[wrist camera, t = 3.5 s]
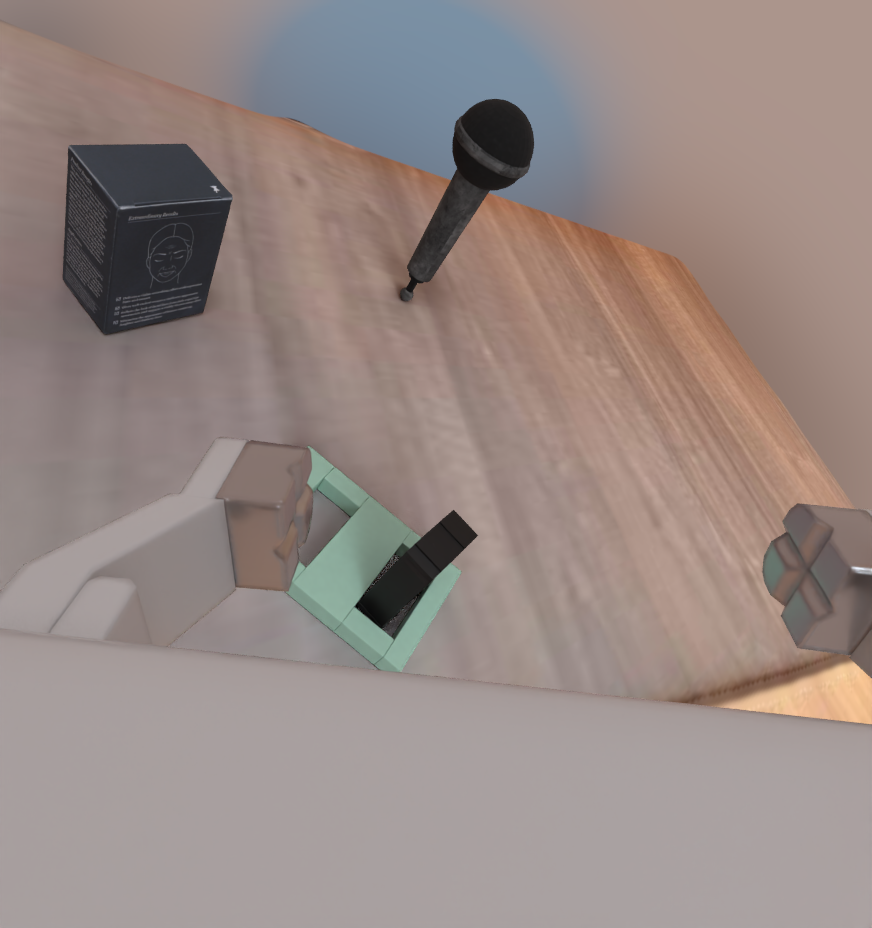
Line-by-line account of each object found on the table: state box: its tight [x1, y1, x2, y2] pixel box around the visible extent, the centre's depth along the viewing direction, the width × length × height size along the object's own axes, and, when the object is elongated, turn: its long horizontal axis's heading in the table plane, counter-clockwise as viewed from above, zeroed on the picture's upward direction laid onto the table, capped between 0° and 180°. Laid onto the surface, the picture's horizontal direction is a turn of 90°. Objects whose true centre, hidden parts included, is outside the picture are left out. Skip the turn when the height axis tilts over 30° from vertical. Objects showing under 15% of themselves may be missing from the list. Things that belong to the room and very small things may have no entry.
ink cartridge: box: [356, 510, 478, 629], centre depth 38 cm, size 5×2×8 cm, turn 140°
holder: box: [285, 446, 461, 672], centre depth 40 cm, size 14×9×2 cm, turn 60°
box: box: [63, 144, 233, 334], centre depth 41 cm, size 8×6×11 cm
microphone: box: [400, 99, 534, 301], centre depth 54 cm, size 7×7×20 cm
